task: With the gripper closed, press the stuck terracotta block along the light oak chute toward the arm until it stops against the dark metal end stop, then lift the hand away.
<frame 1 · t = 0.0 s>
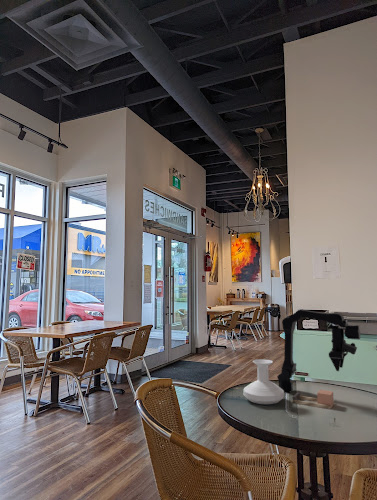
hand: (339, 369, 184), 15 cm above the table, fingers open, 9 cm apart
jammed block: (325, 398, 174), point 3 cm above the table, slide at 0.0 cm
chute: (312, 403, 177), on the table
white vase: (263, 401, 182), on the table
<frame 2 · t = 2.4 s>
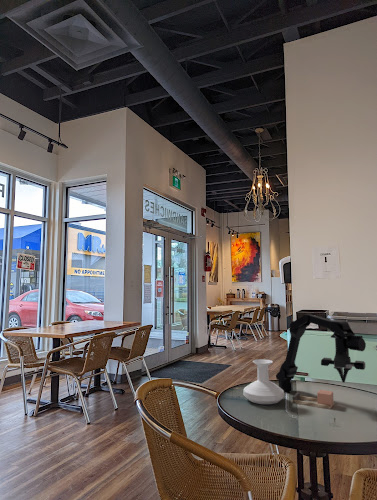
hand: (343, 382, 170), 12 cm above the table, fingers closed
nothing on the table moved.
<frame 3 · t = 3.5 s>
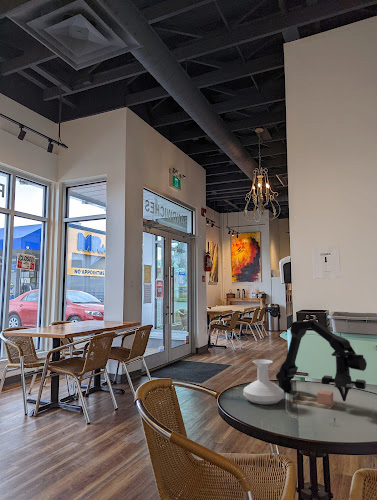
hand: (344, 401, 169), 3 cm above the table, fingers closed
nothing on the table moved.
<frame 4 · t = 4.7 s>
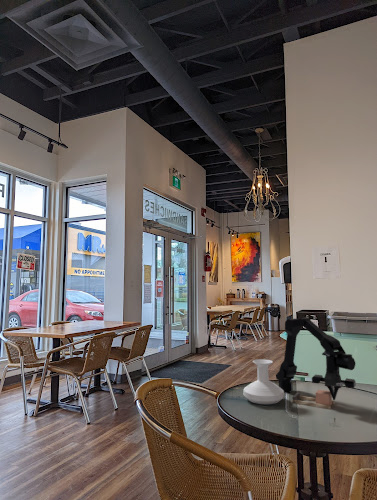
hand: (334, 399, 172), 3 cm above the table, fingers closed
jammed block: (323, 398, 174), point 3 cm above the table, slide at 0.8 cm, touching gripper
everything else where it was.
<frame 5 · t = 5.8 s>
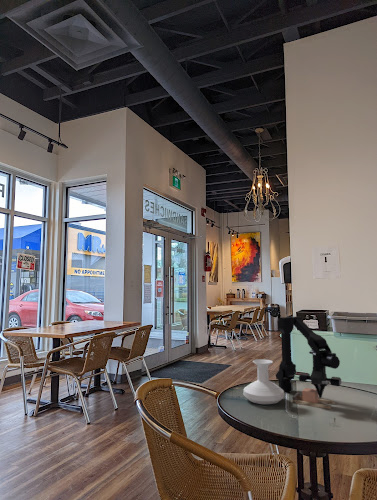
hand: (320, 397, 175), 3 cm above the table, fingers closed
jammed block: (310, 396, 177), point 3 cm above the table, slide at 7.0 cm, touching gripper
everything else where it was.
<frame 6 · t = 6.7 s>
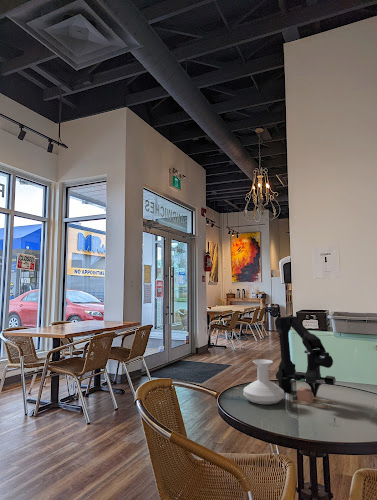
hand: (315, 396, 176), 3 cm above the table, fingers closed
jammed block: (305, 395, 179), point 3 cm above the table, slide at 9.5 cm, touching gripper
everything else where it was.
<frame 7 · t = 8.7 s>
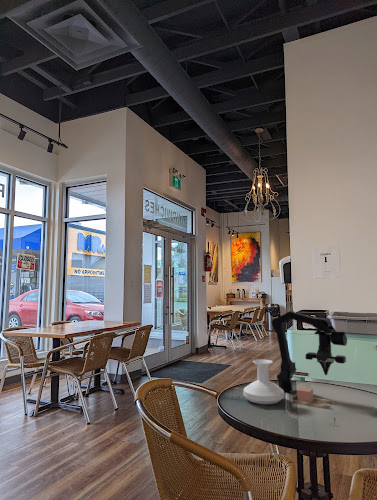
hand: (326, 374, 184), 12 cm above the table, fingers closed
jammed block: (305, 395, 179), point 3 cm above the table, slide at 9.5 cm
everything else where it was.
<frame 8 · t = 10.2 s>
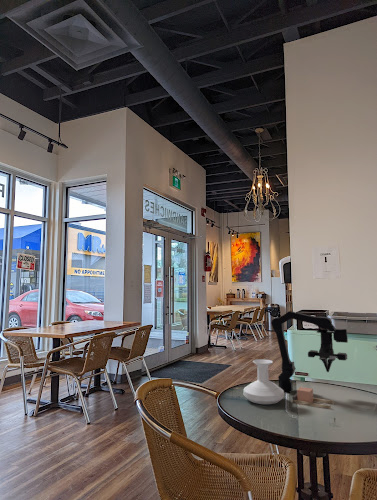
hand: (327, 371, 190), 12 cm above the table, fingers closed
nothing on the table moved.
at the end: jammed block slide at 9.5 cm; the gripper is holding nothing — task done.
